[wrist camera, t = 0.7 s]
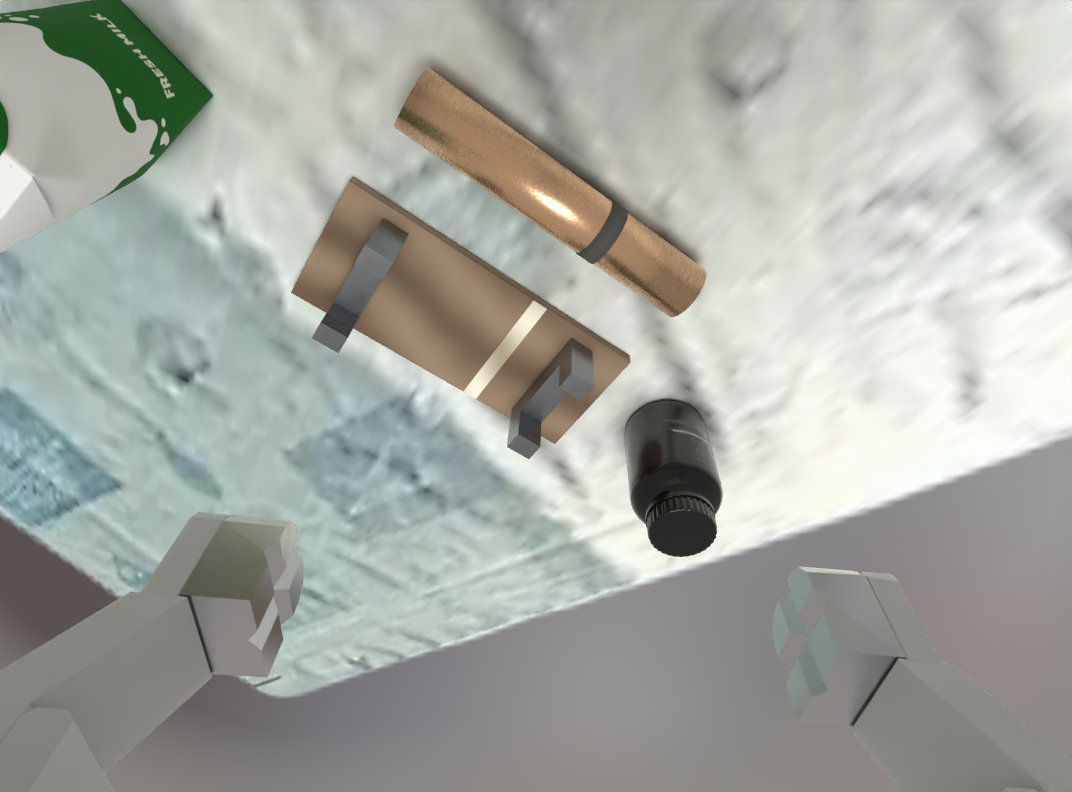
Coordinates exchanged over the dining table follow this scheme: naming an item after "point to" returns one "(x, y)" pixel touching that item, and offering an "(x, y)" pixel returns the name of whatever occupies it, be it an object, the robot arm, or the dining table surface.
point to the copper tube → (548, 194)
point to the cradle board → (452, 311)
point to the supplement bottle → (673, 477)
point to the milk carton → (82, 109)
